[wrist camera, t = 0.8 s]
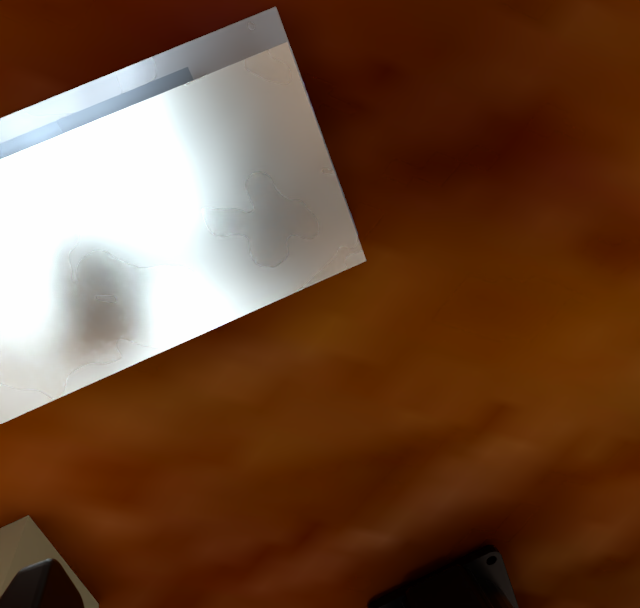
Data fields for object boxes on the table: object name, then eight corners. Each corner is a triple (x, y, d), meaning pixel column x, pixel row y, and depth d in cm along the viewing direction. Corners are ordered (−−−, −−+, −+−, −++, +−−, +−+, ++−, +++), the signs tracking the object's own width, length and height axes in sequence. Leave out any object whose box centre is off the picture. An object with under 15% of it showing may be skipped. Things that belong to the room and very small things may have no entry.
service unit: (349, 227, 19) (416, 280, 14) (15, 374, 18) (-55, 493, 13) (270, 11, 17) (314, -31, 11) (-127, 172, 16) (-294, 214, 10)
